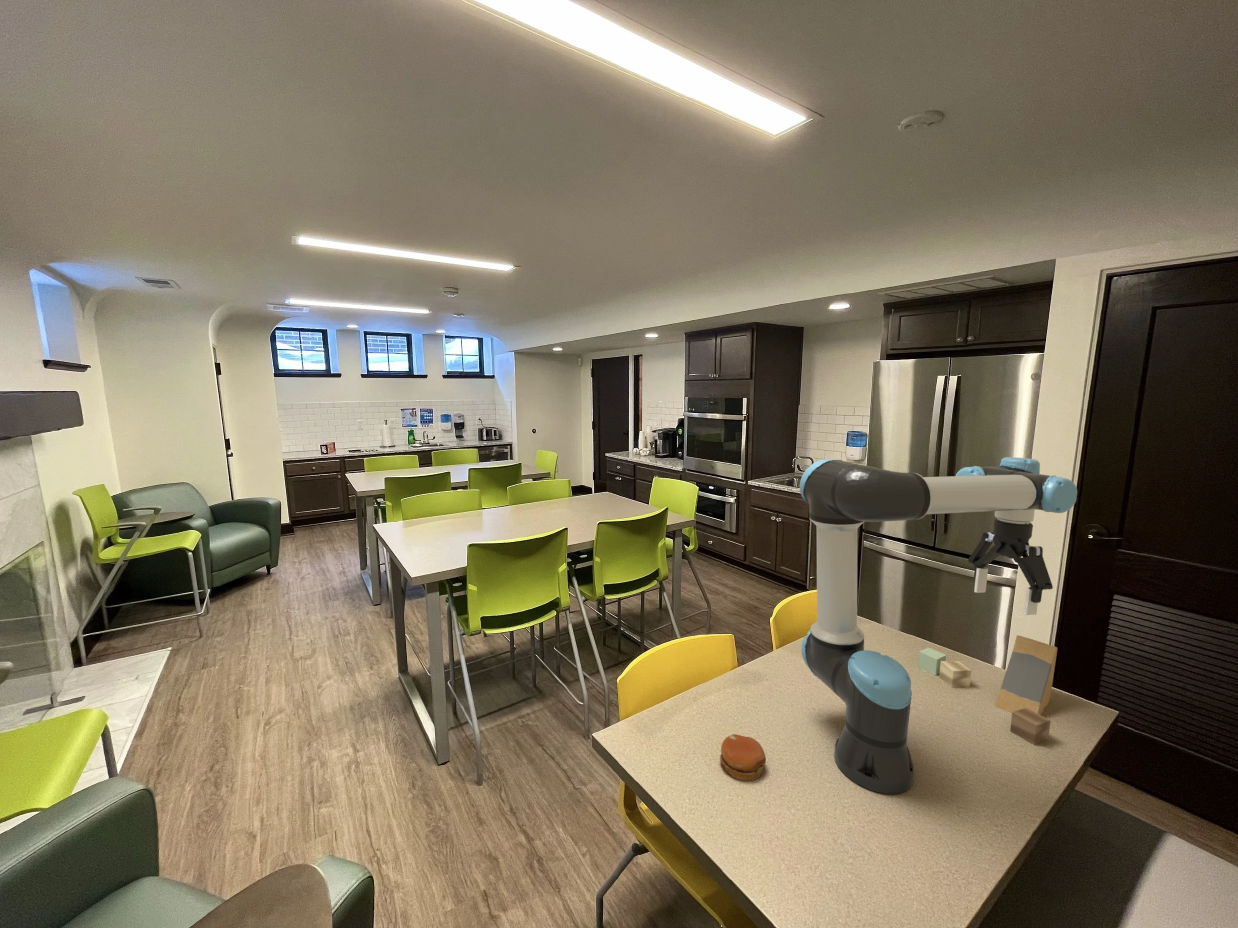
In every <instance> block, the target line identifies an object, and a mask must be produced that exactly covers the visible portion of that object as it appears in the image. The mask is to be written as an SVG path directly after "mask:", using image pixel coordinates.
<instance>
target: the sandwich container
mask: <svg viewBox="0 0 1238 928" xmlns="http://www.w3.org/2000/svg"><path fill="white" fill-rule="evenodd" d="M1014 641H1015V642H1014V644H1013V648H1012V651H1011V654H1010V657H1009V661H1008V664H1007V667H1006V671H1005V673H1004V677H1003V680H1002V684H1001V685H1000V689H999V692H998V695H997V698H996V701H995V704H994V706H995V707H997V708H999V709H1001V710H1004V711H1005V712H1009V713H1011V714H1012V712H1014V711H1017V710H1021V709H1024V708H1028V709H1030V710H1032V711H1033V712H1035V713H1037V714H1039V715H1041V716H1042V714H1043V713H1044V712H1045V709H1046V708H1047V707H1048V705H1049V703H1050V700H1051V697H1052V696H1051V695H1052V690H1051V689H1052V688H1053V682H1054V674H1055V667H1056V660H1057V654H1058V647H1057V646H1054V645H1051V644H1049V643H1045V642H1041V641H1038V640H1035V639H1032V638H1030V637H1026V636H1022V635H1019V634H1017V635H1016V637H1015V640H1014Z"/></svg>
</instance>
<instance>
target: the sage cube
mask: <svg viewBox="0 0 1238 928" xmlns="http://www.w3.org/2000/svg"><path fill="white" fill-rule="evenodd" d="M917 658H918V659H917V668H918V669H921V670H923V671H925V672H926V673H929V674H931V675H934V676H938V675H940V664H941V661H947V654H945V653H942V652H941V651H938V650H935V649H933V648H930V647H926V648H924V649H922V650H919V651H918V657H917Z"/></svg>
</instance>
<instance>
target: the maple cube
mask: <svg viewBox="0 0 1238 928" xmlns="http://www.w3.org/2000/svg"><path fill="white" fill-rule="evenodd" d="M938 675H939V679H940V680H942V681H943V682H944V683H945V684H946V685H948V686H949V687H951V688H953V689H954V687H955V689H957V688H970V686H971V678H972V677H971V676H972V670H971V669H970V668H969V667H967V666H966V665H965V664H963V663H962V662H960V661H959V660H946V661H941V664H940V674H938ZM956 687H957V688H956Z"/></svg>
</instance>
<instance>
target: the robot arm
mask: <svg viewBox="0 0 1238 928" xmlns="http://www.w3.org/2000/svg"><path fill="white" fill-rule="evenodd" d="M1040 471H1041V463H1040V461H1038V460H1037V459H1034V458H1029V457H1027V458H1026V457H1013V456H1012V457H1011V456H1010V457H1009V456H1006V457H1003V458H1002V459H1001V460H1000V464H999V466H978V465H974V466H965V467H962V468H961V469H959V470H958V471H957V473H956V474H955V476H952V475H951V476H924V477H923V475H921V474H919V473H917V472H901V471H900V472H899V471H893V470H887V469H885V468H884V469H883V468H878V467H875V466H870V465H864V464H860V463H853V462H848V461H844V460H841V459H831V458H830V459H829V458H827V459H820V460H817V461H815V462H814V463H812V464H811V465H809V466H808V467H807V469H805V470H804V472H803V474H802V476H801V479H800V481H799V493H800V495H801V497H802V499H803V500H804V501H805V503H807V504H808V505H809V511H808V512H809V513H808V514H809V520H810V521H811V522H812V523H813V524H814V525H815V526H816V621H815V622H814V623H812V624H811V625H810V629H809V630H808V631H807V633H806V634H807V636H805V637H803V640H802V643H801V656H802V659H803V662H804V664H805V665H806V666H807V668H808V669H809V670H810V672H811V673H812V674H813V675H814V676H815V677H816V678H817V679H819V680H820V681H821V682H822V683H823V684H824V685H825V686H827V687H828V689H829V690H831V691H832V692H833V693H834V694H835V695H836V696H837V697H839V698H840V700H842V702H843V703H845V722H844V725H843V728H842V730H841V733H840V735H839V737H838V738H837V739H836V741H835V745H834V750H833V751H834V753H833V757H834V762H835V764H836V766H837V767H838V769H839V770H840V771H841V772H842V774H843V775H844V776H846V777H847V778H848V779H850V780H851V781H852V782H853V783H855V784H856V785H859V786H861V787H863V788H865V789H867V790H870V791H873V792H876V793H879V794H884V795H885V794H886V795H899V794H902V793H906V792H907V791H910V789H911V788H912V786H913V785H914V782H915V781H914V780H915V767H914V763H913V759H912V756H911V753H910V752H911V751H910V749H909V745H908V733H909V720H910V713H911V704H912V702H911V701H912V695H913V694H912V692H913V691H912V680H911V676H910V675H909V672H908V671H907V669H906V668H905V667H904V666H903V665H902V664H901V663H900V662H898V660H896V659H894V658H893V657H891V656H888V655H886V654H885V655H883V654H881V652H878V651H874V650H868V649H867V650H865V633H864V631H863V630H862V629H861V628H860V627H859V626H858V529H859V528H860V526H861V525H862V524H864V523H865V522H868V523H869V522H870V523H873V522H876V523H878V522H879V523H880V522H900V521H901V522H902V521H917V520H920V519H923V518H924V517H925V516H926V515H939V514H958V513H961V514H962V513H978V512H979V513H980V512H984V513H985V512H994V517H995V518H994V520H993V527H992V532H990V531H989V532H982V535H981V537H980V538H981V539H980V541H979V542H978V544H977V546H976V547H975V548H974V550H973V551H972V553H971V554H970V556H969V558H968V559H967V560H968V562H969V564H972V565H973V567H974V574H973V577H974V580H975V581H974V589H973V590H974V591H973V592H974V593H976V594H977V593H979V594H981V593H982V594H983V593H986V592H987V582H988V581H987V580H988V574H989V568H988V565H989V564H990V563H992V562H993V561H994V560H995V559H997V558H998V557H999V556H1003V557H1007V558H1008V559H1013V561H1014V562H1015V563H1017V565H1018V567H1019V568H1020V570H1021V572H1022V574H1023V576H1024V578H1025V579H1026V582H1027V583H1028V585H1029V587H1026V589H1025V590H1026V591H1025V599H1024V600H1025V601H1024V607H1023V614H1024V615H1026V616H1034V615H1037V614H1038V613H1037V612H1038V604H1039V603H1041V601H1042V595H1043V590H1044V591H1045V590H1052V589H1053V587H1054V586H1053V583H1052V580H1051V577H1050V574H1049V572H1048V568H1047V565H1046V563H1045V558H1044V557H1043V555H1044V553H1043V552H1044V551H1043V550H1044V549H1043V547H1042V546H1041V545H1039V546H1033V545H1030V543H1029V541H1030V539H1031V538H1032V536H1033V528H1034V525H1033V523H1032V522H1034V519H1035V511H1036V510H1039V511H1043V512H1046V513H1055V514H1063V513H1066V512H1068V511H1070V510H1071V509H1072V508H1073V507H1074V505H1075V504H1076V502H1077V499H1078V498H1077V496H1078V489H1077V486H1076V484H1075V483H1074V482H1073V480H1070V479H1069V478H1065V477H1061V476H1056V475H1049V474H1040ZM993 543H994V545H993ZM992 545H993V546H992ZM991 546H992V547H991ZM988 550H989V551H988Z"/></svg>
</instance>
